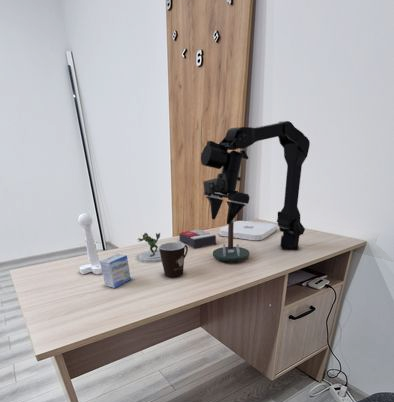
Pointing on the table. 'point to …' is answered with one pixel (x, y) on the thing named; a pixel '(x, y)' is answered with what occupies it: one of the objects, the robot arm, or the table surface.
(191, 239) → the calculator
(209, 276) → the table surface
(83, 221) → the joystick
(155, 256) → the monster figurine
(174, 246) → the coffee mug
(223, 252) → the pegged disc stand
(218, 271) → the table surface
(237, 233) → the computer
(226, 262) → the turntable base
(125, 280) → the medicine box
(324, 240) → the table surface
